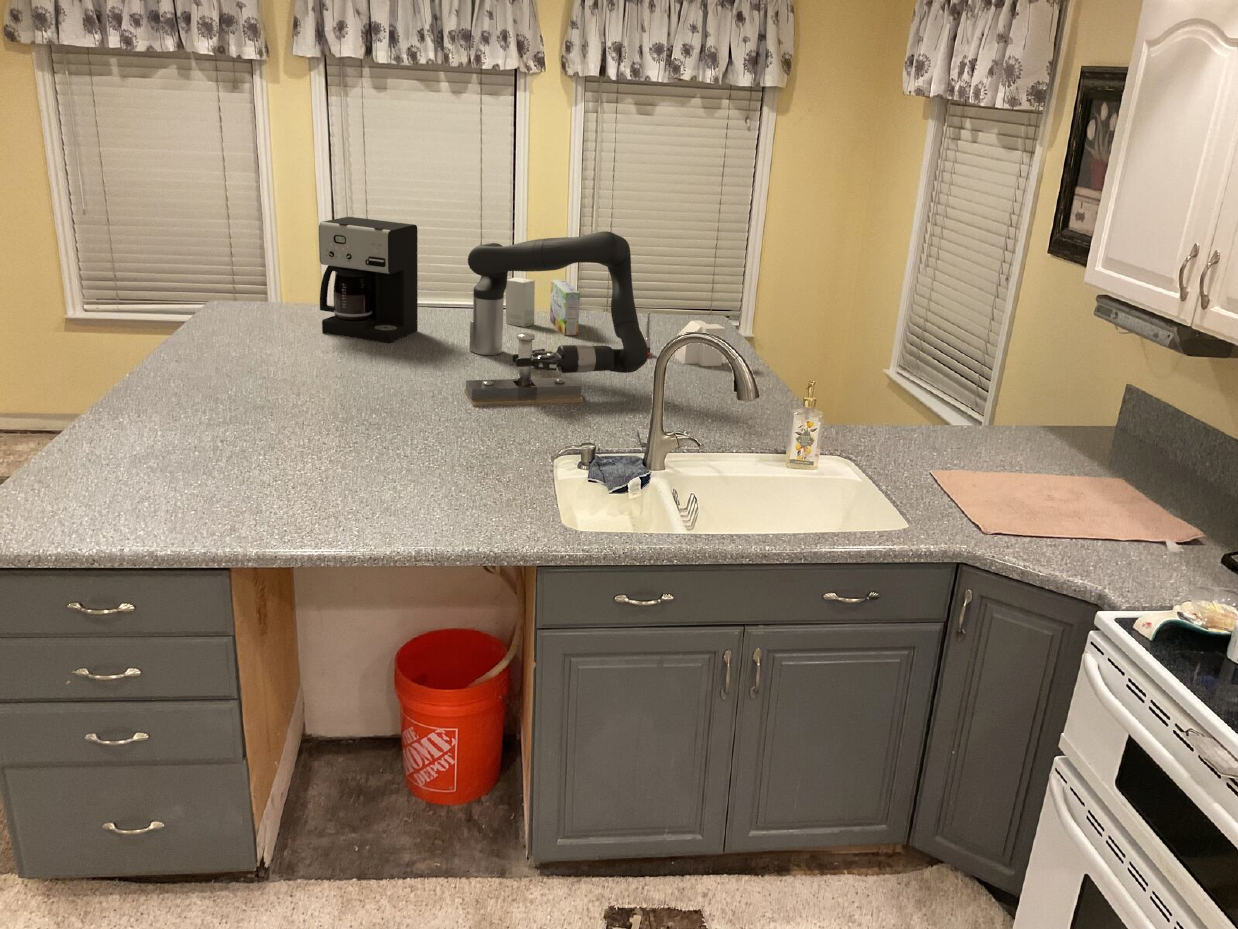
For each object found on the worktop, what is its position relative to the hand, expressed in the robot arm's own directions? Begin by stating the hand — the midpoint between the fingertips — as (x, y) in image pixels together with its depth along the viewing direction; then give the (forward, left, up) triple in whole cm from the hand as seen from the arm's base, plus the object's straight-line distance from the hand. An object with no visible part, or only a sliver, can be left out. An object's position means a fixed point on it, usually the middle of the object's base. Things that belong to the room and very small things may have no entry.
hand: (514, 360), depth 270 cm
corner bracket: (+32, +67, -11) cm, 75 cm away
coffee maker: (-72, +37, -11) cm, 81 cm away
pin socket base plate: (+2, +2, -10) cm, 11 cm away
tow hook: (+12, +63, -11) cm, 65 cm away
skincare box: (-36, +77, -11) cm, 85 cm away
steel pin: (+2, +2, -8) cm, 8 cm away
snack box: (-21, +81, -11) cm, 84 cm away
